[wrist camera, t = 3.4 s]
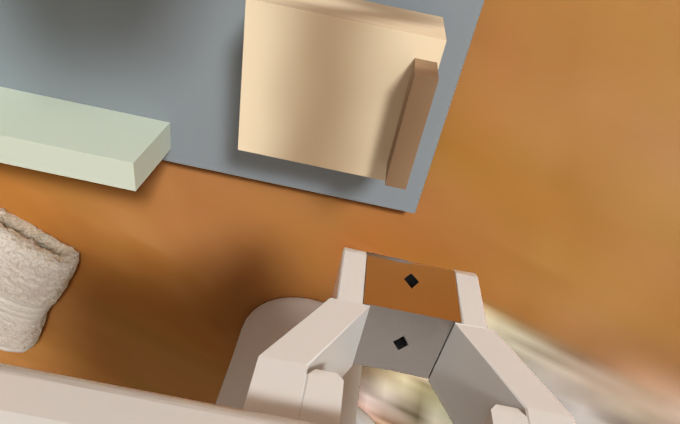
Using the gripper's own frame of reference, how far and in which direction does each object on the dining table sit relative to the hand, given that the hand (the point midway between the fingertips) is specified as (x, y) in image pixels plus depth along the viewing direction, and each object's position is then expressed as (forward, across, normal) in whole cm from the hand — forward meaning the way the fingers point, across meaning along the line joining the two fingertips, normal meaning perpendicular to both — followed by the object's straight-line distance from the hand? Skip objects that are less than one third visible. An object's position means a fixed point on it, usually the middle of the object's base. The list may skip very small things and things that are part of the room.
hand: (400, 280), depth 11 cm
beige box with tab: (+13, +2, 0) cm, 13 cm away
